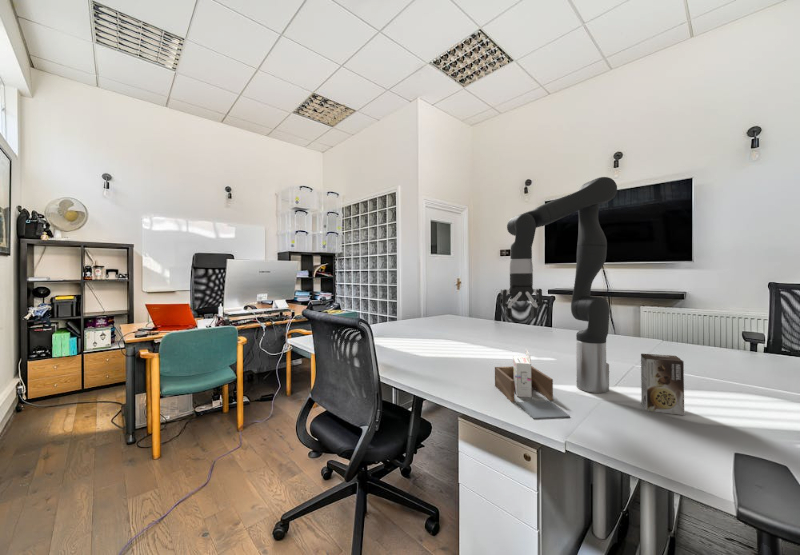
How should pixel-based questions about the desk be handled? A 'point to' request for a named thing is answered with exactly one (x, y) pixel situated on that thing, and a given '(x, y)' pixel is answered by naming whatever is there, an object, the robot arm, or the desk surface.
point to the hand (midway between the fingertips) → (521, 318)
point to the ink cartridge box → (522, 376)
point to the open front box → (538, 382)
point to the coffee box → (662, 383)
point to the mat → (543, 409)
